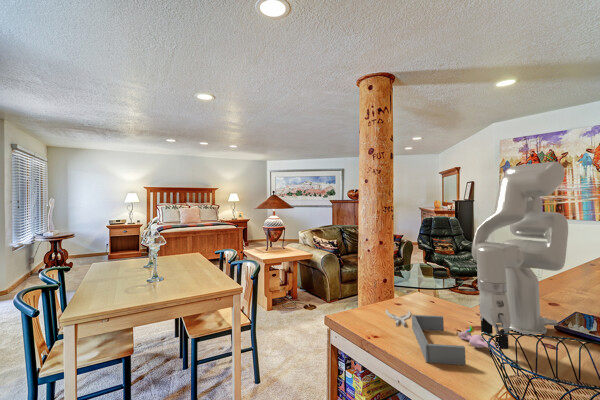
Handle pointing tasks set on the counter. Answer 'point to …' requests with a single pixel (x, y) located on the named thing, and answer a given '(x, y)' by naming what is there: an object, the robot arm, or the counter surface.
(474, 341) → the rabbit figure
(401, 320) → the pliers
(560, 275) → the counter surface
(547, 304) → the counter surface
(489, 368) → the counter surface
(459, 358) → the box
